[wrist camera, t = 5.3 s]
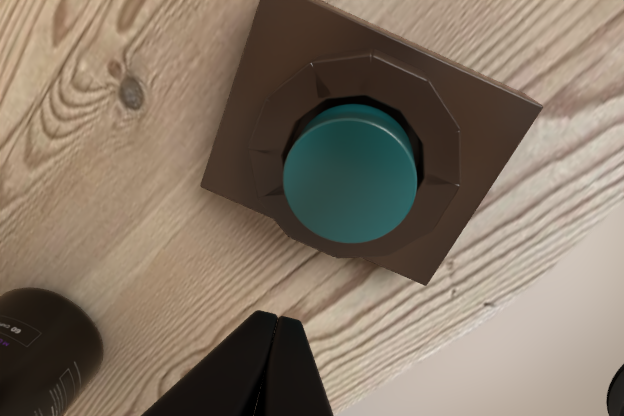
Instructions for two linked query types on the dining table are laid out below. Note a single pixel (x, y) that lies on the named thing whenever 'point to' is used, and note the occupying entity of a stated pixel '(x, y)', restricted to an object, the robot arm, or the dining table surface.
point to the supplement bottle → (44, 352)
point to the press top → (351, 174)
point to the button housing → (376, 93)
